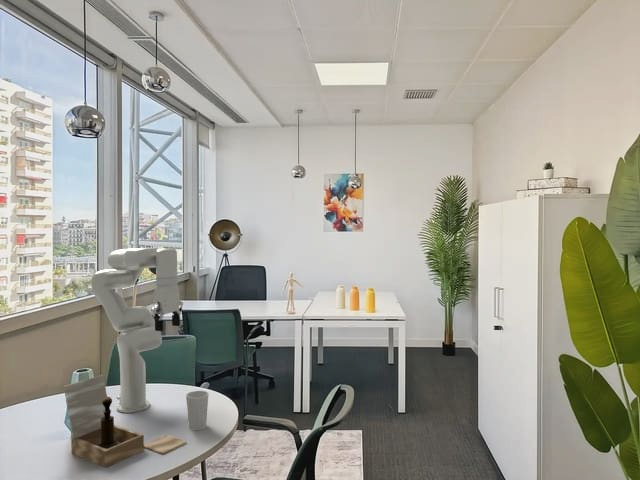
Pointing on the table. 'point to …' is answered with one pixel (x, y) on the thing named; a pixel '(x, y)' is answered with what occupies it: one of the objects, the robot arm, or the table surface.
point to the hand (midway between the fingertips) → (167, 328)
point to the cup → (197, 409)
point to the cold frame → (96, 424)
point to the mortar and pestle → (107, 426)
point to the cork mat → (164, 444)
